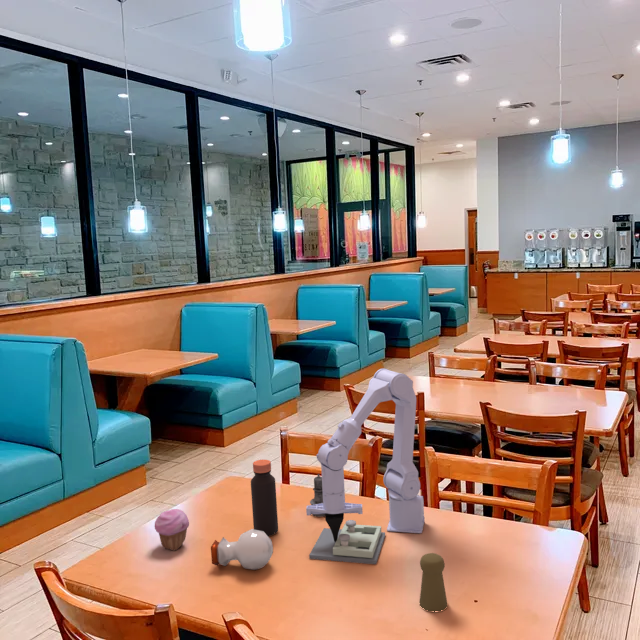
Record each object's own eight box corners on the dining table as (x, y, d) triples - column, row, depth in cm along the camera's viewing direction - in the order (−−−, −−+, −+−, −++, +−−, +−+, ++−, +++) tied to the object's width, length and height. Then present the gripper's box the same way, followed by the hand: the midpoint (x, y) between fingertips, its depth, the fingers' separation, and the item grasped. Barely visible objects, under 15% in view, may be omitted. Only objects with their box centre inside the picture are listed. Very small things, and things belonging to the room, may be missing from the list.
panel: (333, 554, 155) (332, 548, 155) (345, 529, 168) (344, 523, 168) (372, 558, 152) (372, 551, 152) (381, 531, 166) (381, 526, 166)
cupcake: (150, 550, 165) (147, 514, 163) (172, 536, 172) (169, 502, 171) (176, 557, 160) (172, 520, 159) (197, 542, 168) (194, 507, 167)
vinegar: (280, 526, 175) (276, 458, 173) (276, 537, 169) (271, 466, 166) (256, 526, 176) (252, 458, 174) (251, 537, 169) (246, 467, 167)
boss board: (309, 558, 156) (308, 540, 156) (324, 531, 170) (323, 514, 170) (376, 564, 152) (375, 545, 151) (385, 535, 166) (384, 518, 166)
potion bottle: (276, 575, 152) (218, 580, 154) (278, 538, 159) (223, 543, 161) (266, 557, 146) (205, 563, 148) (269, 519, 153) (211, 525, 155)
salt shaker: (328, 517, 179) (326, 477, 178) (308, 516, 180) (306, 477, 179) (332, 509, 185) (330, 470, 183) (312, 508, 186) (310, 469, 185)
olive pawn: (416, 597, 137) (414, 550, 135) (443, 595, 137) (441, 548, 136) (423, 613, 131) (421, 564, 129) (451, 611, 131) (449, 562, 130)
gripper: (361, 483, 164) (363, 532, 165) (306, 484, 165) (309, 533, 166) (361, 494, 157) (363, 544, 158) (304, 495, 158) (307, 545, 159)
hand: (335, 539), depth 162 cm, fingers closed
